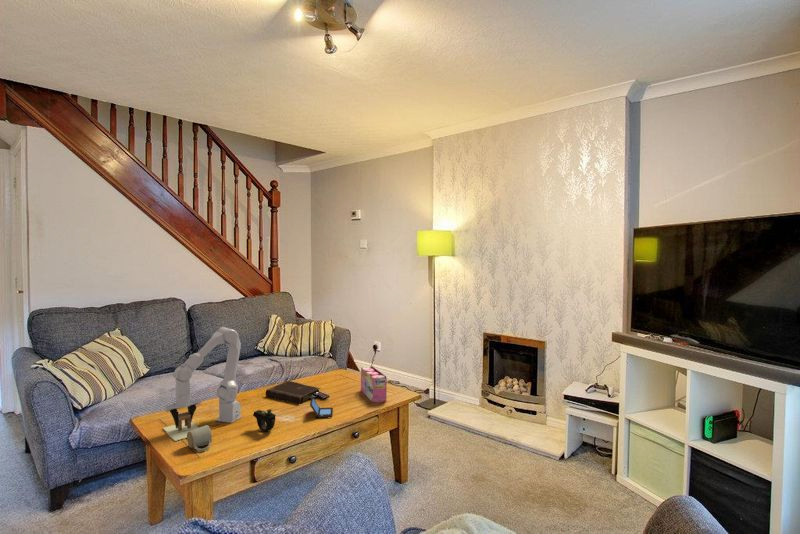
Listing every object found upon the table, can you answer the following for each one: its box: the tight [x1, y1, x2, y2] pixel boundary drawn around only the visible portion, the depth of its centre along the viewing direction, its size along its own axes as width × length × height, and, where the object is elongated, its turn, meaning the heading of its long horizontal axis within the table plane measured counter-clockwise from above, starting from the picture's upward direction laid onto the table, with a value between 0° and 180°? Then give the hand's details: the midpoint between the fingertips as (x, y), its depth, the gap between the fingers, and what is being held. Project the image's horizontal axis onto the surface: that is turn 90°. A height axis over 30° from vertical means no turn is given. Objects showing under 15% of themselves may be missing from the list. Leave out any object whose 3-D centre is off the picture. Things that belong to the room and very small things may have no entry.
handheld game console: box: [309, 397, 334, 419], centre depth 216 cm, size 12×11×7 cm
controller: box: [252, 409, 277, 433], centre depth 196 cm, size 4×12×10 cm, turn 56°
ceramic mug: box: [186, 424, 213, 452], centre depth 179 cm, size 11×8×8 cm
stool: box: [176, 411, 191, 431], centre depth 195 cm, size 5×5×6 cm
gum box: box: [360, 366, 387, 403], centre depth 244 cm, size 24×8×14 cm, turn 23°
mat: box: [162, 421, 200, 442], centre depth 195 cm, size 18×12×1 cm, turn 43°
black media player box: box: [265, 380, 322, 405], centre depth 243 cm, size 19×25×5 cm
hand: (183, 423), depth 195 cm, fingers closed on stool, 5 cm apart
